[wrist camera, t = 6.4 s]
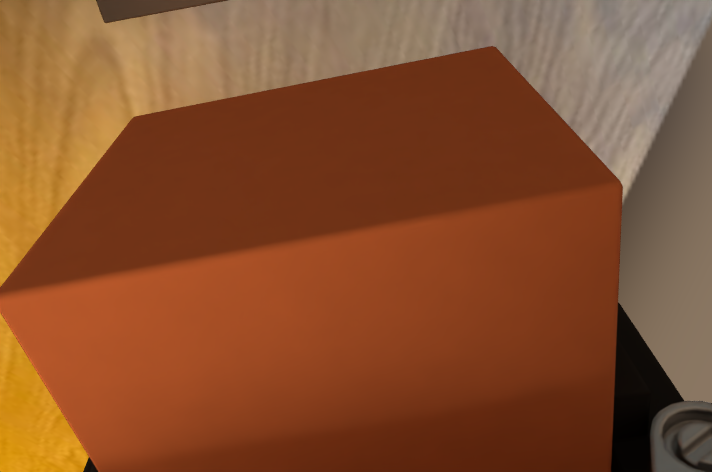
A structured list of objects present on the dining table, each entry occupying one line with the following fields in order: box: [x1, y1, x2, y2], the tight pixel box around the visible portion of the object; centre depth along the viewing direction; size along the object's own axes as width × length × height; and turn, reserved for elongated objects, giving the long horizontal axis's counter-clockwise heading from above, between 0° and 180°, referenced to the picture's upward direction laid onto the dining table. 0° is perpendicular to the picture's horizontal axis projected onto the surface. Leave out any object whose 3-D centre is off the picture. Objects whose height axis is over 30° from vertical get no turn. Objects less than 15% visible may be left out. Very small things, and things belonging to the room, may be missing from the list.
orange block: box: [0, 46, 623, 472], centre depth 10 cm, size 6×10×5 cm, turn 11°
